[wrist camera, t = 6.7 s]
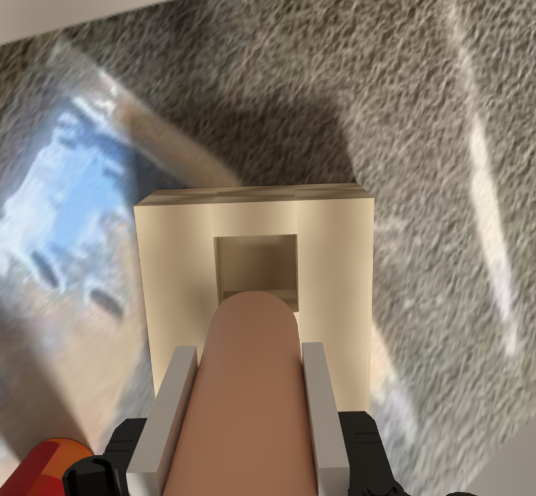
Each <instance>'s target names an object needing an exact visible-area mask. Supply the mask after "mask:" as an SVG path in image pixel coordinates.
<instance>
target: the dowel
mask: <svg viewBox="0 0 536 496" xmlns="http://www.w3.org/2000/svg"><path fill="white" fill-rule="evenodd" d="M163 496H318V491H317V482H316V474H315V466H314V458H313V450H312V441H311V433H310V425H309V417H308V408H307V400H306V392H305V384H304V375H303V367H302V356H301V348H300V340H299V332H298V324H297V320H296V318H295V315H294V314H293V312H292V310H291V309H290V308H289V306H288V305H287V304H286V303H285V302H284V301H282V300H281V299H280V298H278V297H276V296H274V295H272V294H269V293H266V292H261V291H246V292H241V293H238V294H235V295H233V296H231V297H229V298H228V299H226V300H225V301H224V302H223V303H222V304H221V305H220V306H219V307H218V308H217V310H216V311H215V313H214V315H213V317H212V320H211V324H210V327H209V331H208V334H207V338H206V342H205V345H204V349H203V352H202V356H201V360H200V363H199V367H198V370H197V374H196V378H195V381H194V385H193V388H192V392H191V395H190V399H189V403H188V406H187V410H186V413H185V417H184V421H183V424H182V428H181V431H180V435H179V438H178V442H177V446H176V449H175V453H174V456H173V460H172V464H171V467H170V471H169V474H168V478H167V482H166V485H165V489H164V492H163Z"/></svg>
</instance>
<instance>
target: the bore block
mask: <svg viewBox="0 0 536 496" xmlns="http://www.w3.org/2000/svg"><path fill="white" fill-rule="evenodd" d="M134 214H135V223H136V231H137V240H138V249H139V258H140V266H141V275H142V284H143V293H144V301H145V310H146V319H147V328H148V336H149V345H150V354H151V363H152V371H153V380H154V389H155V398H156V396H157V393H158V391H159V388H160V386H161V383H162V381H163V378H164V376H165V373H166V371H167V368H168V365H169V363H170V360H171V358H172V355H173V353H174V350H175V348H176V346H196V348H197V360H198V367H199V363H200V360H201V356H202V352H203V349H204V345H205V342H206V338H207V334H208V331H209V327H210V324H211V320H212V317H213V315H214V313H215V311H216V310H217V308H218V307H219V306H220V305H221V304H222V303H223V302H224V301H225V300H226V299H228V298H229V297H231V296H233V295H235V294H238V293H241V292H246V291H261V292H266V293H269V294H272V295H274V296H276V297H278V298H280V299H281V300H282V301H284V302H285V303H286V304H287V305H288V306H289V308H290V309H291V310H292V312H293V314H294V315H295V318H296V320H297V324H298V332H299V340H300V348H301V356H302V343H304V342H322V343H323V347H324V352H325V357H326V361H327V366H328V370H329V375H330V380H331V384H332V389H333V393H334V398H335V402H336V407H337V412H341V411H366V412H367V413H368V414H369V399H370V357H371V315H372V274H373V232H374V197H373V196H371V195H370V194H369V193H368V192H367V191H366V190H364V189H363V188H362V187H361V186H360V185H359V184H358V183H334V184H306V185H278V186H250V187H222V188H194V189H166V190H156V191H154V192H153V193H152V194H150V195H149V196H147V197H146V198H145V199H143V200H142V201H140V202H139V203H138V204H136V205H135V206H134Z"/></svg>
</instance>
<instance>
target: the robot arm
mask: <svg viewBox="0 0 536 496" xmlns="http://www.w3.org/2000/svg"><path fill="white" fill-rule="evenodd" d="M302 367H303V375H304V384H305V392H306V400H307V408H308V417H309V425H310V433H311V441H312V450H313V458H314V466H315V474H316V482H317V491H318V496H410V495H408V494H407V493H406V492H404V489H403V488H402V486H401V485H400V484H399V483H398V482H397V481H395V479H394V477H393V474H392V471H391V468H390V465H389V462H388V459H387V456H386V453H385V450H384V447H383V444H382V441H381V438H380V435H379V432H378V429H377V426H376V423H375V420H374V419H373V418H372V417H371V416H370V415H369V414H368V413H367V412H366V411H341V412H337V407H336V402H335V398H334V393H333V389H332V384H331V380H330V375H329V370H328V366H327V361H326V357H325V352H324V347H323V343H322V342H304V343H302ZM197 370H198V360H197V348H196V346H176V348H175V350H174V353H173V355H172V358H171V360H170V363H169V365H168V368H167V371H166V373H165V376H164V378H163V381H162V383H161V386H160V388H159V391H158V393H157V396H156V398H155V401H154V403H153V406H152V408H151V411H150V413H149V416H148V418H133V419H126V420H125V421H123V422H122V423H121V424H120V425H119V426H118V427H117V428H116V429H115V430H114V432H113V434H112V437H111V439H110V441H109V443H108V445H107V447H106V449H105V453H103V455H93V456H89V457H86V458H83V459H81V460H79V461H77V462H75V463H73V464H72V465H71V466H70V467H69V468H68V469H67V470H66V471H65V473H64V474H63V476H62V482H63V488H64V493H65V496H163V492H164V489H165V485H166V482H167V478H168V474H169V471H170V467H171V464H172V460H173V456H174V453H175V449H176V446H177V442H178V438H179V435H180V431H181V428H182V424H183V421H184V417H185V413H186V410H187V406H188V403H189V399H190V395H191V392H192V388H193V385H194V381H195V378H196V374H197ZM446 496H476V495H473V494H470V493H465V492H455V493H450V494H448V495H446Z"/></svg>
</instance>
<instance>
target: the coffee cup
mask: <svg viewBox="0 0 536 496" xmlns="http://www.w3.org/2000/svg"><path fill="white" fill-rule="evenodd" d="M89 456H93V453H92V452H91V451H90V450H89V449H88V448H87V447H86V446H84V445H83V444H81V443H79V442H77V441H74V440H71V439H67V438H53V439H48V440H45V441H43V442H41V443H40V444H38V445H37V446H36V447H35V448H34V449H33V450H32V451H31V452H30V453H29V454H28V455H27V457H26V458H25V459H24V460H23V461H22V462H21V464H20V465H19V466H18V467H17V469H16V470H15V471H14V472H13V473H12V475H11V476H10V477H9V478H8V480H7V481H6V482H5V483H4V484H3V486H2V487H1V488H0V496H65V493H64V488H63V482H62V476H63V474H64V473H65V471H66V470H67V469H68V468H69V467H70V466H71V465H72V464H73V463H75V462H77V461H79V460H81V459H83V458H86V457H89Z"/></svg>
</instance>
